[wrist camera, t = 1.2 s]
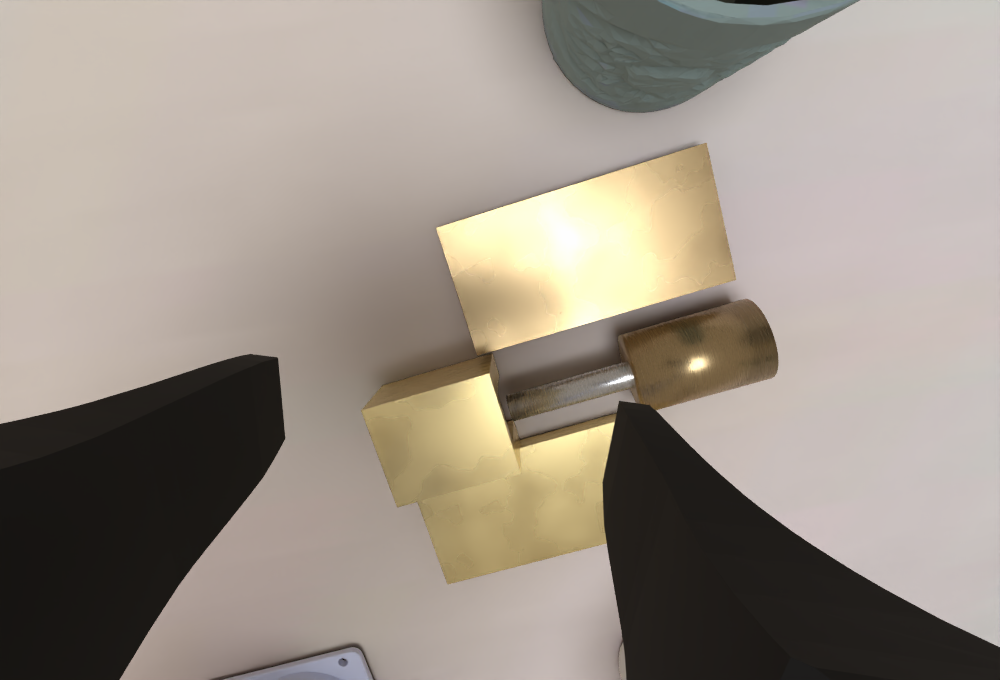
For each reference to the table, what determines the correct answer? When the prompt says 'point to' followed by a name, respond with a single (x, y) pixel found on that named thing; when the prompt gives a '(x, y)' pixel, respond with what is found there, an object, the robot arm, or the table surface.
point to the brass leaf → (487, 471)
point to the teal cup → (668, 43)
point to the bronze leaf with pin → (613, 283)
